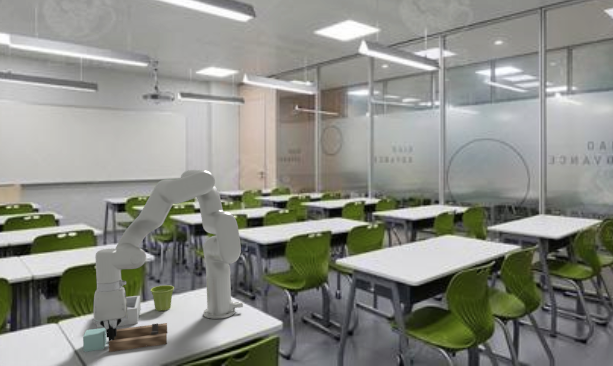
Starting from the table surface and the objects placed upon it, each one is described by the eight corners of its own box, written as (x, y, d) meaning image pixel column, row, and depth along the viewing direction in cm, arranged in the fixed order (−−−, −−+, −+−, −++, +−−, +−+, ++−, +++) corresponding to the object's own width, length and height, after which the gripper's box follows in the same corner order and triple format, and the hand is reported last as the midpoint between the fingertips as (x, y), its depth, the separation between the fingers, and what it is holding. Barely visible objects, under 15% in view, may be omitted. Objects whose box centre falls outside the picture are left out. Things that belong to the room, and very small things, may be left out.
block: (106, 341, 147) (105, 327, 146) (103, 349, 141) (103, 334, 141) (87, 344, 145) (86, 330, 145) (83, 351, 139) (83, 337, 139)
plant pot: (164, 303, 185) (163, 284, 184) (179, 307, 180) (178, 287, 180) (146, 310, 177) (145, 289, 176) (161, 314, 172) (161, 293, 172)
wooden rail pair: (167, 330, 155) (166, 320, 155) (166, 344, 144) (166, 332, 144) (113, 337, 150) (113, 326, 149) (109, 352, 139) (108, 340, 138)
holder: (140, 309, 178) (140, 295, 177) (137, 323, 162) (136, 308, 162) (104, 313, 174) (103, 299, 173) (97, 328, 158) (96, 312, 158)
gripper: (134, 280, 149) (136, 331, 150) (87, 285, 144) (89, 337, 145) (132, 286, 142) (134, 340, 143) (82, 291, 137) (85, 346, 138)
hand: (111, 338), depth 144 cm, fingers closed
